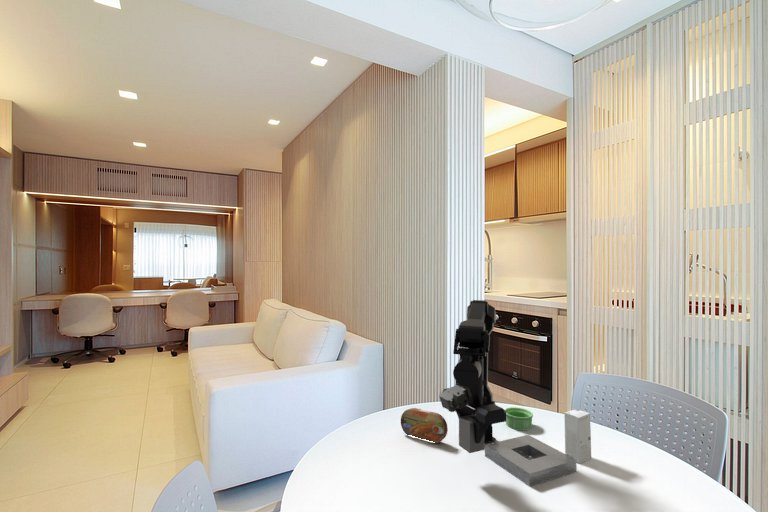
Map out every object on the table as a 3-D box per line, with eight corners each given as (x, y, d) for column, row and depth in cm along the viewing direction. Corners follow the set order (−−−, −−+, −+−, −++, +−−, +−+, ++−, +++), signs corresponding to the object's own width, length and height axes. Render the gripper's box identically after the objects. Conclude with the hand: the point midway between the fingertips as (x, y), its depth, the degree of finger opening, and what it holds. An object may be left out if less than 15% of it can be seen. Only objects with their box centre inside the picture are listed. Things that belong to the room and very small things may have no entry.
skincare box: (580, 464, 99) (579, 417, 99) (563, 457, 102) (563, 412, 103) (592, 458, 102) (591, 413, 102) (576, 451, 106) (575, 408, 106)
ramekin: (498, 421, 126) (498, 408, 127) (521, 419, 129) (521, 406, 129) (515, 432, 118) (515, 418, 118) (539, 429, 121) (539, 415, 121)
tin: (399, 434, 116) (400, 406, 116) (405, 430, 118) (405, 403, 119) (444, 447, 107) (444, 417, 108) (448, 443, 110) (449, 414, 110)
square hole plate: (484, 455, 103) (484, 444, 103) (528, 445, 109) (528, 434, 109) (529, 486, 88) (529, 473, 88) (576, 472, 95) (576, 460, 95)
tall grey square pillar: (458, 445, 93) (458, 417, 94) (473, 442, 95) (473, 414, 95) (469, 453, 89) (469, 423, 90) (484, 449, 91) (484, 420, 92)
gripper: (424, 369, 98) (424, 429, 97) (468, 390, 81) (468, 463, 81) (459, 365, 103) (459, 423, 102) (507, 384, 86) (508, 453, 85)
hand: (471, 439), depth 92 cm, fingers closed on tall grey square pillar, 4 cm apart
